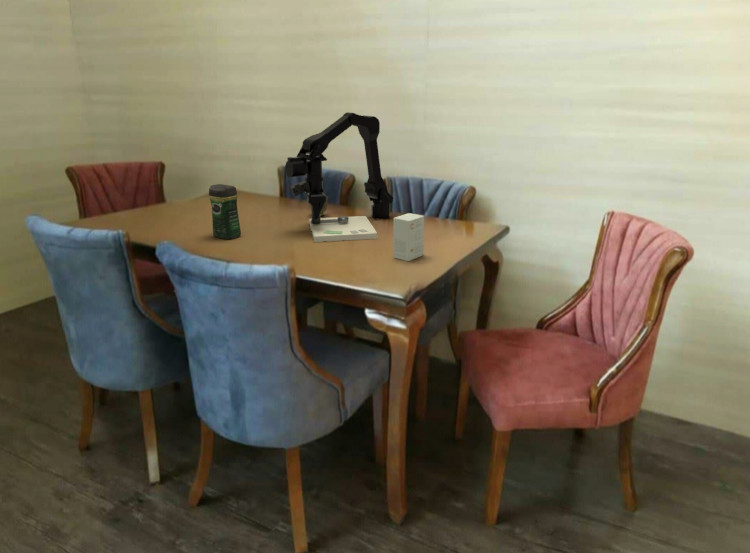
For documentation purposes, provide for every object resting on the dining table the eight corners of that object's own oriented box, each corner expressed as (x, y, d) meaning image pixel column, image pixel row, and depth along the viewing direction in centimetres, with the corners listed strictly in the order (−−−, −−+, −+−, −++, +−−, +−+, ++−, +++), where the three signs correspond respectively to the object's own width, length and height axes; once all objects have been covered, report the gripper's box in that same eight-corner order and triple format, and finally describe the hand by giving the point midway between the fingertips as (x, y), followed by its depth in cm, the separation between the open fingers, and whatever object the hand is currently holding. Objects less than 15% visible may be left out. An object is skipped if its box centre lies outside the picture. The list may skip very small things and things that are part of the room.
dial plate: (365, 220, 224) (365, 215, 223) (377, 238, 201) (377, 232, 200) (309, 223, 220) (308, 218, 219) (314, 242, 197) (314, 236, 196)
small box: (408, 251, 187) (408, 212, 182) (423, 255, 183) (424, 215, 178) (392, 257, 181) (392, 217, 176) (408, 261, 177) (409, 220, 172)
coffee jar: (245, 235, 205) (240, 184, 198) (228, 241, 199) (223, 188, 192) (226, 231, 210) (221, 181, 204) (209, 236, 204) (203, 185, 198)
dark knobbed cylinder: (347, 220, 215) (347, 196, 211) (349, 222, 211) (348, 198, 208) (310, 222, 212) (309, 198, 209) (311, 224, 208) (310, 200, 205)
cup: (330, 213, 235) (329, 194, 232) (326, 218, 228) (326, 198, 225) (312, 213, 235) (311, 194, 233) (308, 218, 228) (307, 198, 226)
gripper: (290, 170, 212) (292, 211, 217) (292, 179, 194) (295, 224, 200) (320, 169, 214) (321, 210, 219) (325, 178, 196) (327, 222, 202)
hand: (316, 216), depth 210 cm, fingers open, 5 cm apart
